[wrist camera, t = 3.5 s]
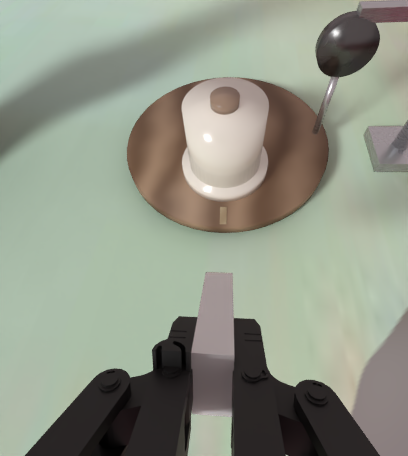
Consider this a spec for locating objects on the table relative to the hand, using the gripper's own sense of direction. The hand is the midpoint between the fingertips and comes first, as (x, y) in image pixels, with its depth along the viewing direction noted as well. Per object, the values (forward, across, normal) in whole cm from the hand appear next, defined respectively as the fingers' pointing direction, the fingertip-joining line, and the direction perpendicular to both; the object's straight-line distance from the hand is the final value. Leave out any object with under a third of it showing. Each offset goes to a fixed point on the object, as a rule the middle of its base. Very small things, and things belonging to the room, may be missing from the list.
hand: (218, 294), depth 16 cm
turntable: (+30, 0, +7) cm, 31 cm away
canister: (+24, 0, +5) cm, 25 cm away
